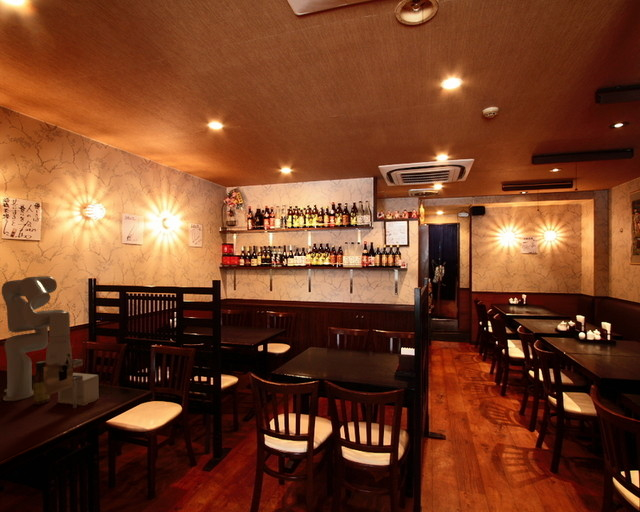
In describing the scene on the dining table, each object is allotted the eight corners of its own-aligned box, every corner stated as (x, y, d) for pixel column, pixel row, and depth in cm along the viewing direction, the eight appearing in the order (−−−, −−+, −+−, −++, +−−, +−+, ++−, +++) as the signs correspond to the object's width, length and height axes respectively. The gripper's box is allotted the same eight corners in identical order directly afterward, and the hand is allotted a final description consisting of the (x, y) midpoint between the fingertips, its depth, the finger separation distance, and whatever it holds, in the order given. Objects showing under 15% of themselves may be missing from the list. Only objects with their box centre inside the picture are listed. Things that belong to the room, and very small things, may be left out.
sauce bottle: (52, 401, 173) (52, 360, 174) (38, 406, 168) (38, 364, 168) (45, 399, 176) (45, 359, 176) (30, 403, 170) (30, 362, 171)
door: (42, 394, 153) (42, 366, 153) (75, 382, 168) (75, 357, 168) (50, 395, 152) (50, 367, 152) (82, 382, 167) (82, 357, 167)
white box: (50, 405, 168) (50, 376, 168) (73, 396, 179) (73, 368, 180) (76, 408, 164) (76, 378, 164) (98, 399, 175) (98, 371, 175)
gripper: (37, 339, 157) (37, 381, 157) (65, 341, 153) (65, 383, 153) (54, 336, 164) (54, 375, 164) (81, 337, 160) (81, 378, 160)
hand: (59, 379), depth 158 cm, fingers closed on door, 3 cm apart
